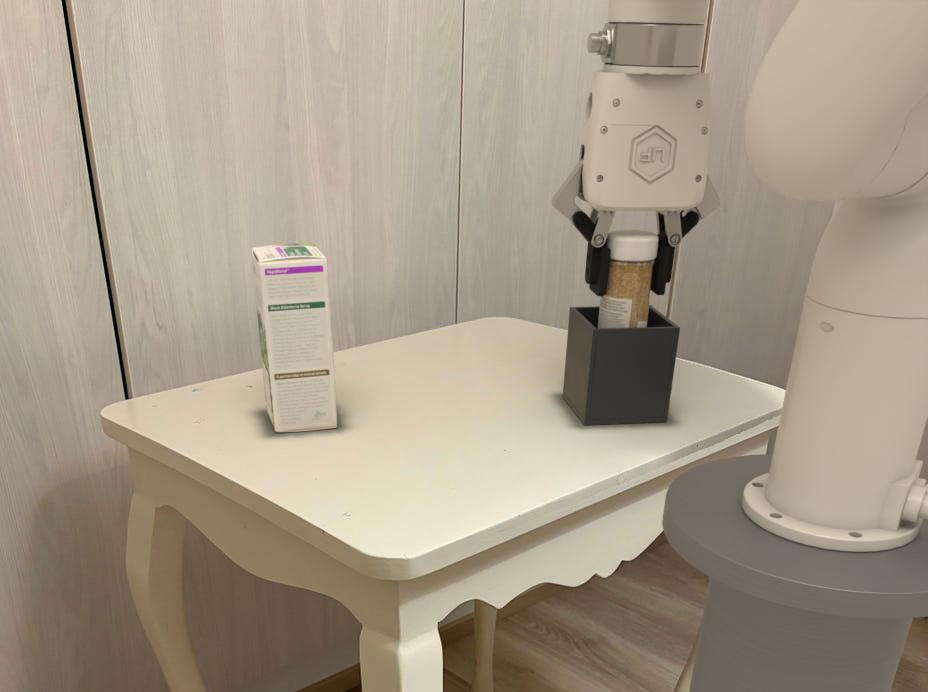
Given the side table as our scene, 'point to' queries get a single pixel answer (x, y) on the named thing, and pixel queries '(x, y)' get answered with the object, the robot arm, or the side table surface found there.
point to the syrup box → (295, 336)
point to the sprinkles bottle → (628, 279)
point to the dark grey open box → (619, 369)
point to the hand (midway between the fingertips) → (626, 289)
